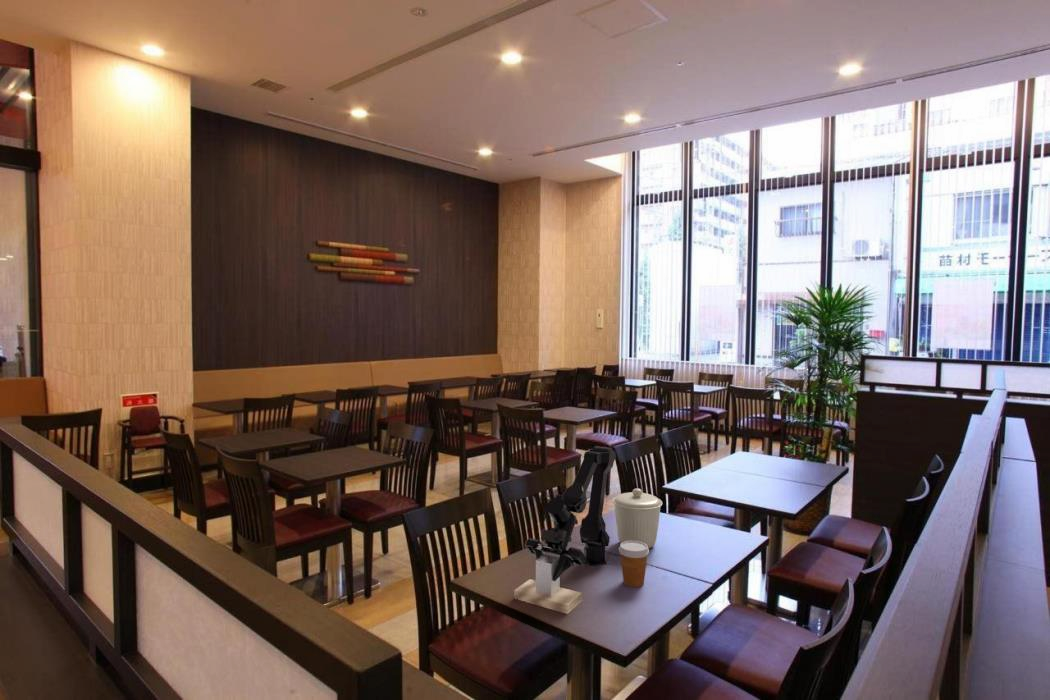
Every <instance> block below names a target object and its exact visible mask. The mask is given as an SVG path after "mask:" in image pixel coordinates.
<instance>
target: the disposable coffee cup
mask: <svg viewBox="0 0 1050 700" xmlns="http://www.w3.org/2000/svg"><path fill="white" fill-rule="evenodd" d="M649 549H650V548H649ZM649 549H648V546H647V545H646V544H645V543H643V542H639V541H625V542H622V543H620V545H619V547H618V551H619V553H620V562H621V563H620V564H621V570H622V581H623V584H624V585H625V586H628V587H630V588H631V587H632V588H640V587H642V586H644V585H645V578H646V570H647V561H648V555H649V553H650V550H649Z"/></svg>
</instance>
